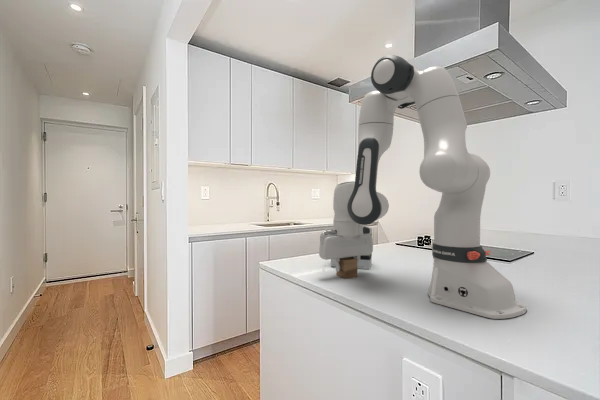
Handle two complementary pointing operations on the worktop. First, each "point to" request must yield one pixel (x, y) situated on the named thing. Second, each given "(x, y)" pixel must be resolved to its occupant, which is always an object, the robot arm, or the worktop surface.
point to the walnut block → (348, 267)
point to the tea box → (364, 260)
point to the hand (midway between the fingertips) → (346, 269)
